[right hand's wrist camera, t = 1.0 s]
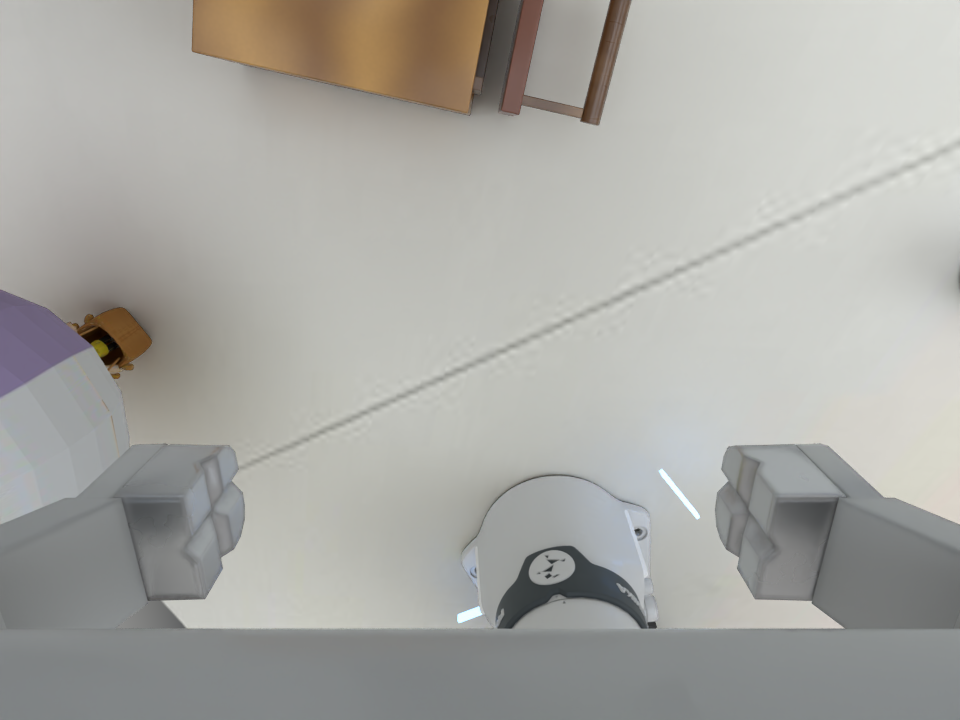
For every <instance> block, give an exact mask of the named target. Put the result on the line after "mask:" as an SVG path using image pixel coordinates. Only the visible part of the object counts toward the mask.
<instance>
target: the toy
mask: <svg viewBox="0 0 960 720" xmlns="http://www.w3.org/2000/svg"><path fill="white" fill-rule="evenodd" d="M84 322H85V324H84V325H83V326H81V327H80V328H79V325H78V324H76V323H74V324H72V323H71V322H68V323H67V324H65V323H64V322H63V321H62V320H60V319H59V318H58V317H57V316H56V315H54V314H53V313H52V312H51V311H50V310H48V309H47V308H44V307H42V306H40V305H37V304H35V303H32V302H30V301H27V300H25V299H22V298H20V297H17V296H15V295H12V294H10V293H8V292H5V291H3V290H0V525H1V524H3V523H5V522H8V521H10V520H13V519H15V518H18V517H20V516H22V515H25V514H27V513H30V512H32V511H35V510H37V509H40V508H42V507H44V506H47V505H49V504H52V503H54V502H57V501H59V500H61V499H64V498H76V497H77V496H78V495H79V494H80V493H81V492H83V491H84V490H85V489H86V488H87V487H88V486H89V485H90V484H91V483H92V482H93V481H94V480H96V479H97V478H98V477H99V476H100V475H101V474H102V473H103V472H104V471H105V470H106V469H107V468H109V467H110V466H111V465H112V464H113V463H114V462H115V461H116V460H117V459H118V458H119V457H120V456H122V455H123V454H124V453H125V452H126V451H127V450H128V449H129V448H130V443H129V432H128V426H127V421H126V415H125V410H124V404H123V399H122V393H121V390H120V389H119V387H118V386H117V384H116V382H115V381H114V379H118V378H119V377H120V374H119V373H118V372H121V371H123V370H132V369H133V368H134V365H133V364H128V363H129V362H131V361H133V360H134V359H136V358H137V357H139V356H140V355H141V354H143V353H144V352H145V351H146V350H147V349H148V348H149V347H150V345H151V343H152V340H151V339H150V337H149V336H148V335H147V334H146V332H145V331H144V330H143V329H142V328H141V326H140V325H139V324H138V323H137V322H136V321H135V319H134V318H133V317H132V316H131V315H130V313H129V312H128V311H127V310H126V309H124V308H115V309H111V310H109V311H106V312H104V313H102V314H100V315H98V316H96V317H95V318H94V317H93V315H91V314H88V315H87V316H86V317H85V319H84ZM120 368H122V369H120Z"/></svg>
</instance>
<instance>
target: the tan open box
mask: <svg viewBox="0 0 960 720" xmlns="http://www.w3.org/2000/svg"><path fill="white" fill-rule="evenodd" d="M488 5H489V0H193V29H192V51H193V52H195V53H199V54H203V55H207V56H211V57H215V58H219V59H223V60H227V61H231V62H235V63H239V64H242V65H246V66H251V67H255V68H260V69H264V70H269V71H273V72H278V73H282V74H287V75H291V76H295V77H300V78H304V79H309V80H313V81H318V82H322V83H327V84H331V85H336V86H340V87H344V88H349V89H353V90H358V91H362V92H367V93H371V94H376V95H380V96H385V97H389V98H393V99H398V100H402V101H407V102H411V103H416V104H420V105H425V106H429V107H434V108H438V109H442V110H447V111H451V112H456V113H460V114H465V115H469V116H470V112H471V107H472V102H473V96H474V94H473V93H472V90H473V85H474V80H475V74H476V69H477V64H478V58H479V53H480V47H481V42H482V37H483V31H484V26H485V21H486V15H487V10H488Z"/></svg>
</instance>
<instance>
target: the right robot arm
mask: <svg viewBox="0 0 960 720" xmlns="http://www.w3.org/2000/svg"><path fill="white" fill-rule="evenodd" d="M238 470H239V468H238V464H237V459H236V454H235V451H234V450H233V449H232V448H231V447H230V446H229V445H182V444H170V445H168V444H139V445H132V446H131V447H130V448H129V449H128V450H127V451H126V452H125V453H124V454H123V455H122V456H120V457H119V458H118V459H117V460H116V461H115V462H114V463H113V464H112V465H111V466H110V467H109V468H107V469H106V470H105V471H104V472H103V473H102V474H101V475H100V476H99V477H98V478H97V479H96V480H94V481H93V482H92V483H91V484H90V485H89V486H88V487H87V488H86V489H85V490H84V491H83V492H81V493H80V494H79V495H78V496H77V497H76V498H64V499H61V500H59V501H57V502H54V503H52V504H49V505H47V506H44V507H42V508H40V509H37V510H35V511H32V512H30V513H27V514H25V515H22V516H20V517H18V518H15V519H13V520H10V521H8V522H5V523H3V524H1V525H0V720H960V525H959V524H957V523H954V522H952V521H950V520H947V519H945V518H942V517H940V516H937V515H935V514H933V513H930V512H928V511H925V510H923V509H920V508H918V507H916V506H913V505H911V504H908V503H906V502H903V501H901V500H899V499H896V498H884V497H883V496H882V495H881V494H880V493H879V492H878V491H876V490H875V489H874V488H873V487H872V486H871V485H870V484H869V483H868V482H867V481H866V480H865V479H863V478H862V477H861V476H860V475H859V474H858V473H857V472H856V471H855V470H854V469H853V468H852V467H851V466H849V465H848V464H847V463H846V462H845V461H844V460H843V459H842V458H841V457H840V456H839V455H838V454H836V453H835V452H834V451H833V450H832V449H831V448H830V447H829V446H827V445H823V444H797V445H795V444H785V445H743V446H730V447H728V448H727V450H726V452H725V454H724V457H723V463H722V468H721V470H722V471H723V473H724V474H725V476H726V477H727V479H728V480H729V481H728V482H727V483H726V484H725V485H724V486H723V487H722V488H721V489H720V490H719V491H718V492H717V499H716V506H715V515H716V527H717V530H718V533H719V536H720V539H721V541H722V543H723V544H724V546H725V548H726V549H727V550H728V551H730V552H731V553H733V554H734V555H736V556H738V557H739V561H738V567H737V569H738V571H739V573H740V574H741V576H742V578H743V579H744V581H745V583H746V585H747V586H748V588H749V590H750V591H751V593H752V595H753V597H754V598H755V599H766V600H803V601H812V604H813V605H815V606H816V607H817V608H819V609H820V610H821V611H823V612H824V613H825V614H827V615H828V616H829V617H831V618H832V619H833V620H835V621H836V622H837V623H839V624H840V625H841V626H843V627H844V628H845V629H656V628H657V626H656V623H655V621H657V620H658V609H657V604H656V600H655V598H654V596H652V595H650V594H653V584H652V581H651V578H650V518H649V514H648V512H647V511H646V510H645V509H644V508H642V507H640V506H637V505H634V504H630V503H626V502H622V501H620V500H618V499H616V498H615V497H613V496H612V495H610V494H609V493H608V492H607V491H605V490H604V489H602V488H601V487H599V486H597V485H596V484H593V483H591V482H589V481H586V480H583V479H580V478H576V477H570V476H545V477H539V478H535V479H531V480H528V481H525V482H523V483H521V484H519V485H517V486H515V487H513V488H511V489H510V490H508V491H507V492H506V493H504V494H503V495H502V496H501V497H500V498H499V499H498V500H497V501H496V502H495V503H494V504H493V505H492V507H491V508H490V509H489V511H488V513H487V515H486V517H485V519H484V521H483V524H482V527H481V530H480V532H479V534H478V535H477V537H476V538H475V539H474V540H473V541H472V542H471V543H470V544H468V546H467V547H466V548H465V549H464V550H463V552H462V554H461V561H462V566H463V568H464V569H465V571H466V572H467V574H468V575H469V577H470V578H471V580H472V581H473V583H474V584H475V586H476V587H477V589H478V602H479V607H476V608H474V609H471V610H468V611H466V612H463V613H461V614H458V622H459V623H460V622H463V621H466V620H468V619H471V618H474V617H476V616H479V615H482V614H483V615H485V616H486V618H487V620H488V621H489V623H490V624H491V625H492V627H493V628H494V629H115V628H116V627H117V626H119V625H120V624H121V623H123V622H124V621H126V620H127V619H128V618H129V617H131V616H132V615H134V614H135V613H136V612H138V611H139V610H140V609H141V608H143V607H144V606H146V605H147V604H148V601H156V600H192V599H205V598H206V597H207V595H208V593H209V591H210V590H211V588H212V586H213V585H214V583H215V581H216V579H217V578H218V576H219V574H220V573H221V571H222V569H223V567H222V561H221V557H222V556H224V555H226V554H227V553H229V552H230V551H232V550H233V549H234V548H235V546H236V544H237V543H238V541H239V539H240V537H241V533H242V529H243V524H244V520H245V504H244V498H243V492H242V491H241V490H240V489H239V488H238V487H237V486H236V485H235V484H234V483H233V482H232V481H231V480H232V479H233V477H234V476H235V474H236V473H237V471H238ZM659 472H660V474H661V475H662V477H663V478H664V479H665V480H666V482H667V483H668V484H669V485H670V487H671V488H672V489H673V490H674V491H675V493H676V494H677V495H678V496H679V498H680V499H681V500H682V501H683V503H684V504H685V505H686V506H687V507H688V509H689V510H690V511H691V512H692V514H693V515H694V516H695V517H696V519H698V518H700V516H699V515H698V513H697V511H696V510H695V509H694V508H693V507H692V505H691V504H690V503H689V502H688V500H687V499H686V498H685V497H684V495H683V494H682V493H681V492H680V490H679V489H678V488H677V487H676V486H675V484H674V483H673V482H672V481H671V479H670V478H669V477H668V476H667V474H666V473H665V472H664V471H663V470H662V469H661V470H660V471H659ZM635 529H640V530H639V531H634V530H635Z"/></svg>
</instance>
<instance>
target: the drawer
mask: <svg viewBox="0 0 960 720" xmlns="http://www.w3.org/2000/svg"><path fill="white" fill-rule="evenodd" d="M631 1H632V0H610V4H609V8H608V12H607V16H606V20H605V24H604V28H603V32H602V36H601V40H600V44H599V48H598V52H597V56H596V60H595V64H594V68H593V72H592V76H591V80H590V84H589V88H588V92H587V96H586V100H585V104H584V108H579V107H574V106H570V105H565V104H561V103H557V102H552V101H548V100H544V99H539V98H535V97H530V96H526V95H524V90H525V85H526V81H527V76H528V71H529V67H530V62H531V58H532V53H533V48H534V44H535V39H536V34H537V30H538V25H539V20H540V16H541V11H542V6H543V2H544V0H521V1H520V6H519V11H518V16H517V21H516V26H515V31H514V36H513V41H512V46H511V51H510V55H509V60H508V65H507V70H506V75H505V80H504V85H503V90H502V95H501V100H500V105H499V110H498V113H501V114H506V115H510V116H515V115H519V113H520V109H521V105H524V106H528V107H532V108H537V109H541V110H546V111H550V112H554V113H559V114H563V115H568V116H572V117H576V118H581V120H580V122H583V123H587V124H592V125H597V126H598V125H599V123H600V119H601V116H602V112H603V108H604V104H605V100H606V96H607V93H608V89H609V85H610V81H611V77H612V73H613V70H614V66H615V62H616V58H617V54H618V50H619V47H620V43H621V39H622V35H623V31H624V27H625V24H626V20H627V16H628V12H629V8H630V4H631ZM498 2H499V0H489V5H488V10H487V15H486V21H485V26H484V31H483V37H482V42H481V47H480V53H479V58H478V64H477V69H476V74H475V80H474V85H473V90H472V93H473V94H477V95H481V91H482V86H483V81H484V75H485V70H486V65H487V60H488V55H489V49H490V44H491V39H492V34H493V28H494V23H495V18H496V13H497V8H498Z"/></svg>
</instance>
